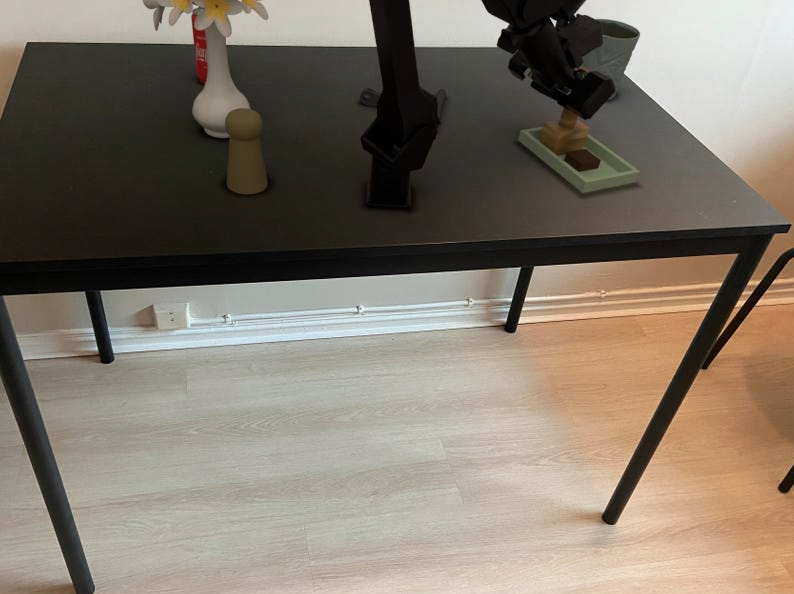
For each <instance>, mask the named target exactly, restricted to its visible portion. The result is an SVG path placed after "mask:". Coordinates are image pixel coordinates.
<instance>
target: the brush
mask: <svg viewBox="0 0 794 594" xmlns="http://www.w3.org/2000/svg"><path fill="white" fill-rule="evenodd" d="M578 69H583V70H585V71H586V72H588V73H589V72H590V71H591V70H590V69H588V68H586V67H582V66H580V67H579V68H578ZM578 69H577V68H575V69H574V70H575V71H577V70H578ZM573 78H575V77H573ZM578 118H579V116H577V115H576V114H574V113H573V112H572V111H571V110H567V109H565V108H564V107H562V111H561V114H560V118H559V119H555V120H547V121H544V122H543V126H542V127H543V129H542V131H543V132H542V136H541V140H540V142H541V143H542V144H543V145H545V146H546V147H547V148H548V149H550V150H551V151H552V152H553V153H555V154H556V155H559V154H565V153H566V152H571V151H577V150H582V149H583V146H584V143H585V140H586V137H587V136H588V134H589V132H590V127H589V126H588V125H586V124H585V123H583V122H582V121H580V120H579V119H578Z"/></svg>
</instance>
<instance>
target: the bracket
mask: <svg viewBox="0 0 794 594" xmlns="http://www.w3.org/2000/svg"><path fill="white" fill-rule="evenodd" d="M380 95H381V92H379V91H377V90H374V89H373V88H370V87H365V88H364V89H362V91H361V93H360V95H359V100H360V102H361V104H363V105H365V106H369V107H377V102H378V100H379V97H380ZM433 95H434V96H435V97H436V98H437V102H438V111H437V113H438V119H439V121H440V119H441V116H442V112H443V108H444V104H445V100H446V97H447V90H445V89H443V88H440V89H439V90H438V91H437V93H434V94H433ZM366 96H367V97H368V98H367V97H366ZM438 127H439V125H437V128H438Z"/></svg>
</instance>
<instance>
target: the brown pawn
mask: <svg viewBox="0 0 794 594" xmlns="http://www.w3.org/2000/svg"><path fill="white" fill-rule="evenodd" d="M225 127H226V131H227V133H228V134H229V135H230V137H229V144H228V158H227V173H226V174H227V175H226V186H227V189H229V190H230V191H232V192H234V193H236V194H240V195H254V194H259V193H261V192H263V191H265V190H266V189H267V188H268V185H269V182H268V176H267V170H266V166H265V165H266V164H265V160H264V155H263V149H262V144H261V138H260V136H261V134H262V132H263V128H264V122H263V119H262V116H261V115H260V113H259V112H258V111H256V110H254V109H247V108H239V109H235V110H232V111H230V112H229V113H228V115H227V116H226V119H225Z"/></svg>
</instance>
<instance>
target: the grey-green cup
mask: <svg viewBox="0 0 794 594" xmlns="http://www.w3.org/2000/svg"><path fill="white" fill-rule="evenodd" d="M595 19H596V20H598V21H600V22H601V23H602V31H603V44H602V46H600V47H599V48H595V49H594V50H592V51H591V52H589V53H588V54H586V55H585V56H583V57H582V59H583V61H584V63H583V64H582V65H581V66H582V67H586V68H588V69H590V70H591V71H598V72H600V73H602V74H603V75H605V76H607V77H609V78H611V79H612V80H613V82H614V84H615V86H616V92H615V93H614V94H613V95H612V96H611V97H610V98H609V99H608V100H607V101H611V100H613V99H614V98H615V96H616V94H617V92H618V89H619V87H620V85H621V82H622V80H623V77H624V75H625V74H624V73H625V71H626V70H627V67H628V65H629V62H630V61H631V57H632V55H633V52H634V50H635V48H636V46H637V44H638V41H639V40H640V37H641V31H639V29H637V28H636V27H634V26H633V25H631V24H628V23H625V22H623V21H619V20H614V19H609V18H595Z"/></svg>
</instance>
